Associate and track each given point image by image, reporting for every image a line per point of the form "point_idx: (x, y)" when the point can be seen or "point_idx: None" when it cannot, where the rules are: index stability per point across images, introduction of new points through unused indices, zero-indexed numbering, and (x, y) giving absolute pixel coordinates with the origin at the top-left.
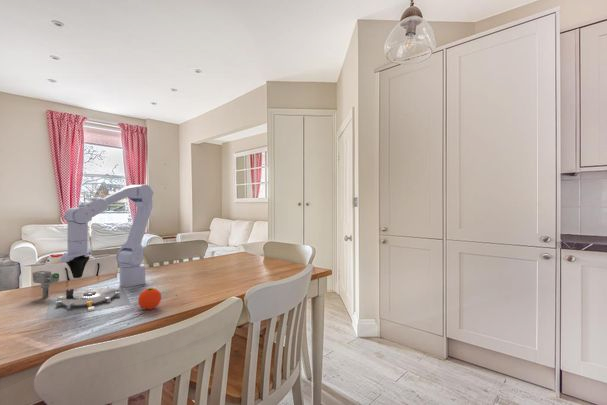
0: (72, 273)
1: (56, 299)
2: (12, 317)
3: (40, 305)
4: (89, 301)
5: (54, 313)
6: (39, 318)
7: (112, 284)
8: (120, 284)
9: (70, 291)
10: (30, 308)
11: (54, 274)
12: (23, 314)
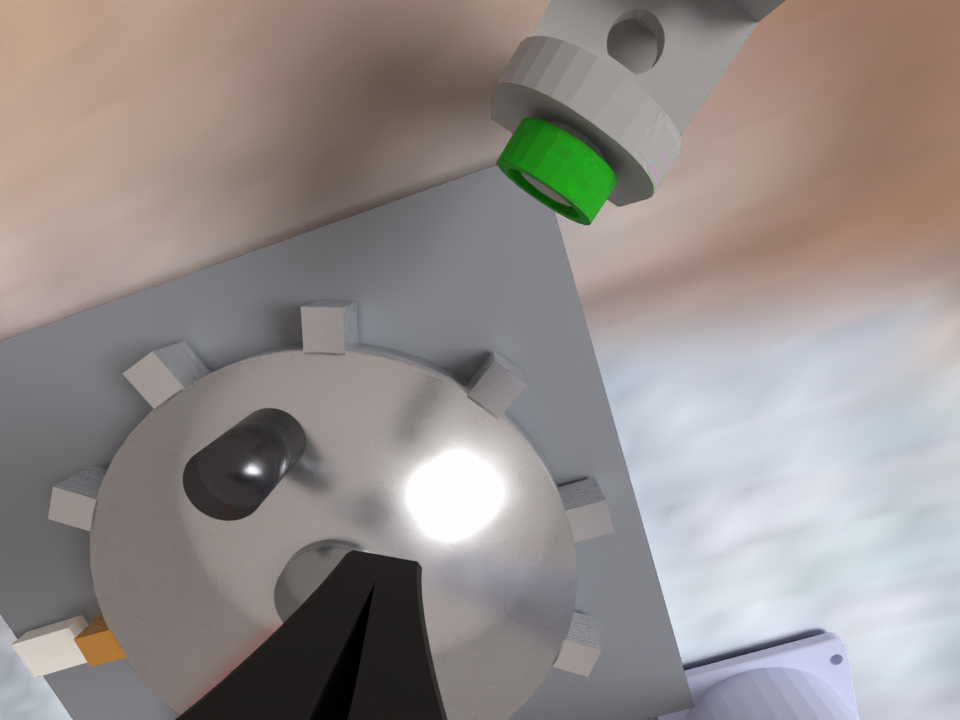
0: (298, 615)
1: (442, 246)
2: (57, 17)
3: (383, 124)
4: (112, 645)
5: (2, 404)
6: (4, 290)
7: (914, 572)
8: (734, 707)
9: (198, 494)
10: (305, 62)
11: (548, 129)
12: (129, 85)
